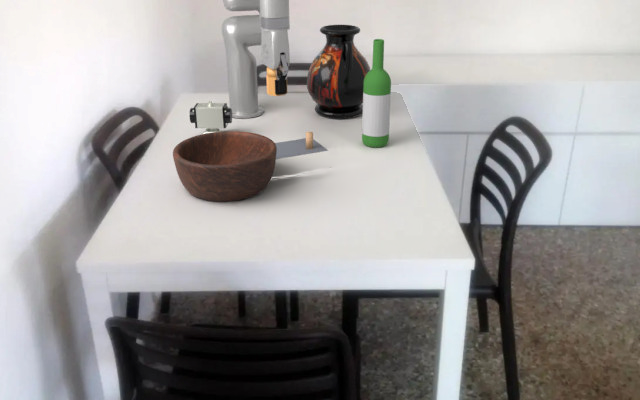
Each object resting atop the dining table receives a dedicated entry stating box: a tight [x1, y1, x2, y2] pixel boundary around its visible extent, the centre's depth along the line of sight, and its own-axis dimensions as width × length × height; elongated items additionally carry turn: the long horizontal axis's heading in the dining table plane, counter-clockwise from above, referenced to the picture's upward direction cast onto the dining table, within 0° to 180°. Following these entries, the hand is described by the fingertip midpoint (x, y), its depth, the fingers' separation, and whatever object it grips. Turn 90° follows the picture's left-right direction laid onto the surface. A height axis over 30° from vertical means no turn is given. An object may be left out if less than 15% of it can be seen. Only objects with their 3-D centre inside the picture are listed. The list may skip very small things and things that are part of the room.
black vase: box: [306, 24, 371, 120], centre depth 209 cm, size 22×22×28 cm
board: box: [274, 131, 329, 160], centre depth 179 cm, size 12×18×6 cm, turn 115°
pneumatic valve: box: [189, 100, 233, 134], centre depth 187 cm, size 6×12×12 cm, turn 89°
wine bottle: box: [361, 38, 392, 148], centre depth 180 cm, size 8×8×30 cm
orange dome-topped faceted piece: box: [265, 66, 286, 97], centre depth 173 cm, size 5×5×7 cm
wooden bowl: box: [172, 130, 277, 202], centre depth 157 cm, size 25×25×10 cm
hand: (277, 90), depth 175 cm, fingers closed on orange dome-topped faceted piece, 5 cm apart
